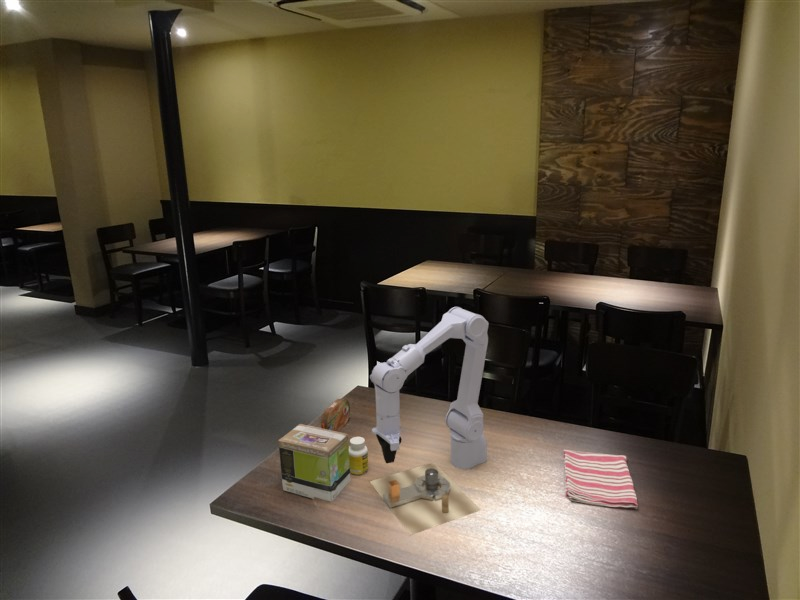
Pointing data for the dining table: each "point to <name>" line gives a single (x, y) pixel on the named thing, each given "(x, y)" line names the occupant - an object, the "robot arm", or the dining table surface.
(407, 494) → the crank
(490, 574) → the dining table surface
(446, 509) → the dowel
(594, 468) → the dish towel
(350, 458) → the supplement bottle
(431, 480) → the post
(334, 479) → the tea box
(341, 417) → the brown flat packet
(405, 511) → the board
